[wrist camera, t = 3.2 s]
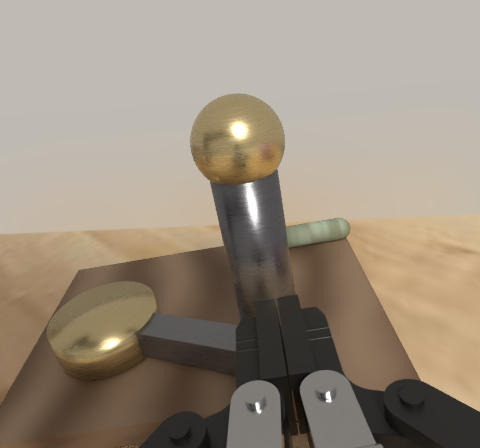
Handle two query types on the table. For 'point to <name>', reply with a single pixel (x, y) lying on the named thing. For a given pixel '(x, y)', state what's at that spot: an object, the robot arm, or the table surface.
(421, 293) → the table surface
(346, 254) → the walnut base
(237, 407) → the robot arm
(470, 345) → the table surface
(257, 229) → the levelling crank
